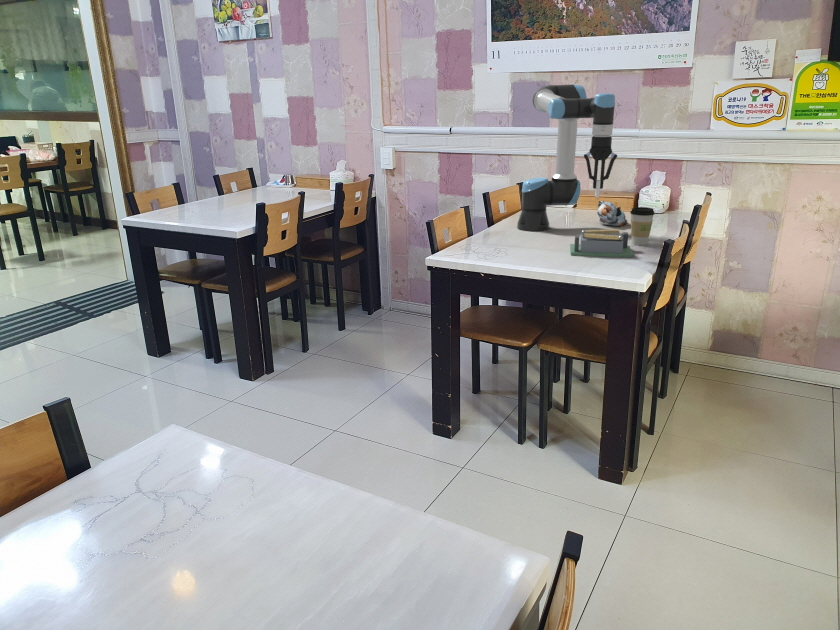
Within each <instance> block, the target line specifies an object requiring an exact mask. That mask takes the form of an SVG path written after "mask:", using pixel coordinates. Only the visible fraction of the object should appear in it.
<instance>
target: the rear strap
mask: <svg viewBox="0 0 840 630" xmlns="http://www.w3.org/2000/svg"><path fill="white" fill-rule="evenodd" d="M581 233H582V235H583V233H592V234H620V229H619V228H615V229H614V228H610V229H585V228H584V229H582V230H581Z"/></svg>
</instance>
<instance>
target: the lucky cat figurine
mask: <svg viewBox="0 0 840 630" xmlns="http://www.w3.org/2000/svg"><path fill="white" fill-rule="evenodd" d="M596 215H597V216H598V218H599V223H600V225H601V226H616V227H621V226H623V227H625V226H627V225H628V223H629V222H628V220H627V218H626V215H625V212H624V211H622V210H621V206H620V205H619V206H618V205H617V206H616V205H614V203H613V202H612V201H605V200H599V201H598V204H597V214H596ZM624 225H625V226H624Z"/></svg>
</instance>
